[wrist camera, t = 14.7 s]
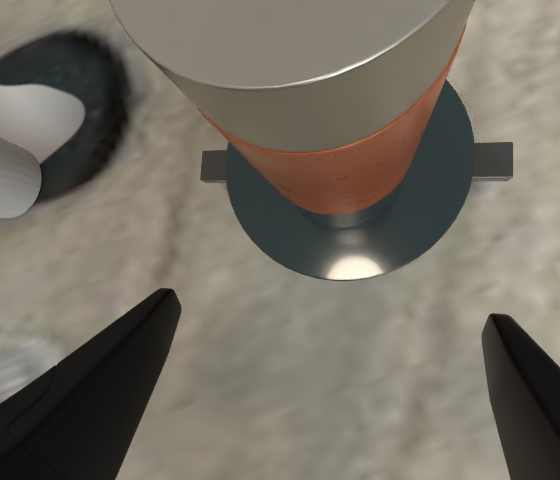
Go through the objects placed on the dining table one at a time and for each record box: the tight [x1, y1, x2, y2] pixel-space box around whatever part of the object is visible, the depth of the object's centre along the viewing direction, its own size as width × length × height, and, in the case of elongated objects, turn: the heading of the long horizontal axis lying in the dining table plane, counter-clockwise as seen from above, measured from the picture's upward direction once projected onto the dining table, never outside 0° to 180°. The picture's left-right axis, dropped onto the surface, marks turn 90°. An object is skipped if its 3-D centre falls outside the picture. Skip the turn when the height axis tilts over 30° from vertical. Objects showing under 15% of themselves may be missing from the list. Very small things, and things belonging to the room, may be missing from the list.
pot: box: [200, 80, 513, 281], centre depth 20 cm, size 13×16×4 cm
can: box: [109, 0, 475, 223], centre depth 12 cm, size 7×7×13 cm
